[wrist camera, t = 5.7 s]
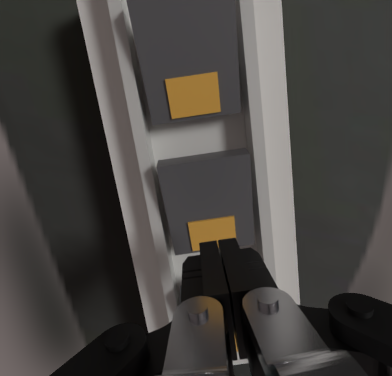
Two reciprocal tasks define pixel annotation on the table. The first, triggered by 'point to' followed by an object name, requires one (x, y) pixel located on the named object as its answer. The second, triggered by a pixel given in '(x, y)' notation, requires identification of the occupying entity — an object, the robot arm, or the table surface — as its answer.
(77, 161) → the table surface
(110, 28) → the power strip
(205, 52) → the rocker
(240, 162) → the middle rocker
